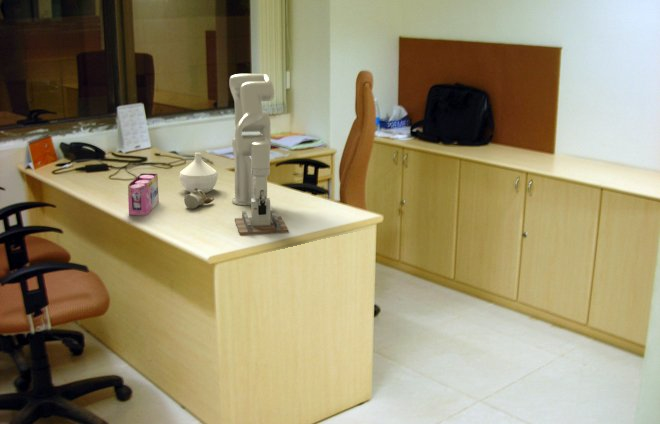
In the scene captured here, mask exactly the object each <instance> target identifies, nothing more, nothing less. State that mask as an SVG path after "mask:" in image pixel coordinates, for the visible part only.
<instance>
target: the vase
mask: <svg viewBox="0 0 660 424" xmlns="http://www.w3.org/2000/svg"><path fill="white" fill-rule="evenodd" d="M218 176H219V175H218V171H217V170H216V169H214V168H213V167H212V166H210V165H208V164H207V163H206V162H205V161H204V160H203V159H202V153H201V152H200V151H199V152H198V151H197V152H194V159H193V161H191V163H190V164H188V165H187V166H186V167H185V168H183V169H182V170H180V172H179V181H180V184H181V187H183V188H184V189H185V191H186V192H188V193H189V194H190V193H191V192H192V190H194V189H195V188H197V189H198V190H201V191H203V192H204V193H205V194H207V193H210V192H211V191H212V190H213V189H214V188H215V186H216V185H217V181H218Z"/></svg>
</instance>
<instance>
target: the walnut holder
mask: <svg viewBox="0 0 660 424" xmlns="http://www.w3.org/2000/svg"><path fill="white" fill-rule="evenodd" d="M241 213H242V215H241V216H242V217H234V223H235V226H236V229H237V231H238V235H239V236H247V235H248V236H249V235H269V234H270V235H271V234H287V233H289V228H288V226H287V224H286V223H285V221H284V219H283V218H282V216H281V215H277V213H276V212H275V210H274V209H270V213H271V225H268V226H252V222H251V217H249V216H248V213H247V211H246V210H242V211H241Z"/></svg>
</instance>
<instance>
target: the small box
mask: <svg viewBox="0 0 660 424" xmlns="http://www.w3.org/2000/svg"><path fill="white" fill-rule="evenodd" d="M260 201H261V200H260ZM258 205H259V200H258V199H257V200H255V198H251V205H250V208H251V209H250V210H251V212H250V213H251V215H250V216H251V222H252V226H268V225H271V213H270V210H271V199H270V197H267V199H266V215H259V214H258Z"/></svg>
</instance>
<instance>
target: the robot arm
mask: <svg viewBox="0 0 660 424" xmlns="http://www.w3.org/2000/svg"><path fill="white" fill-rule="evenodd" d="M229 89H230V93H231V96H232V99H233V101H234V125H235V130H234V131H235V132H234V138H233V139H232V141H231V147H232V152H233V158H234V159H233V161H234V197H233V198H232V199H231V203H232V204H234V205H238V206H251V198H255V200H257V199H258V200H259V205H258V214H259V215H266V199H267V198H268V177H269V176H270V175H271V174H270V173H271V170H270V166H271V164H270V162H271V161H270V153H271V149H272V148H271V143H272V139H271V134H272V133H271V131H272V129H271V128H272V127H271V118H270V114H269V112H267V111H266V110H263V103H262V102H271V101H273V100H274V97H275V89H274V85H273V82H272V80H271V79H270V77H269V75H268V74H266V73H237V74H236V73H235V74H233V75H230V77H229ZM255 132H256V133H257V132H258V133H260V134H258V133H257V134H243V133H255ZM260 200H261V201H260Z"/></svg>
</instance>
